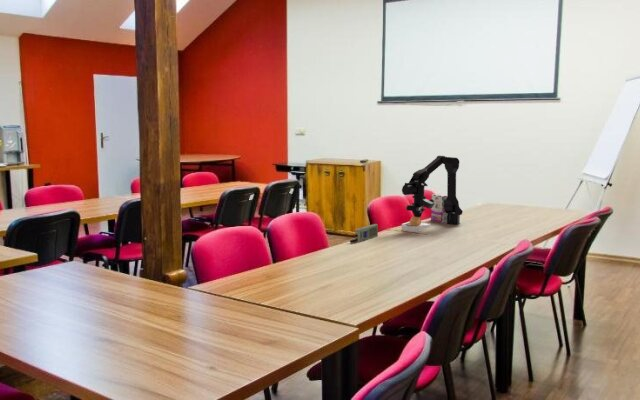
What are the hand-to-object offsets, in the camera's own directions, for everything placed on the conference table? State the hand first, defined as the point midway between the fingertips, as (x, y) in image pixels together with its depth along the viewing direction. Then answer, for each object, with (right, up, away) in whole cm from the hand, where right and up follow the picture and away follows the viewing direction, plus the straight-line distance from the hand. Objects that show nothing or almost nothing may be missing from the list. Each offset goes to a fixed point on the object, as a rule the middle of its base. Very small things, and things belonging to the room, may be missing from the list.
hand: (417, 221), depth 335 cm
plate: (+7, -3, +10) cm, 12 cm away
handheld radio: (-33, -9, -30) cm, 46 cm away
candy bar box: (+17, -1, +23) cm, 29 cm away
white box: (-1, -4, -1) cm, 4 cm away
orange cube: (-1, -2, -1) cm, 3 cm away
